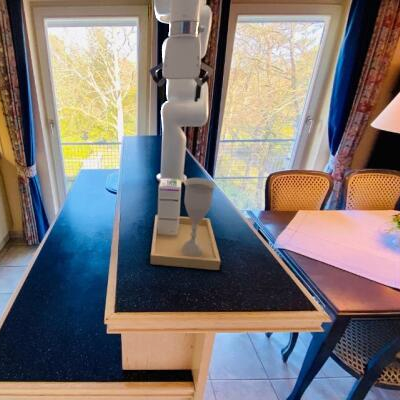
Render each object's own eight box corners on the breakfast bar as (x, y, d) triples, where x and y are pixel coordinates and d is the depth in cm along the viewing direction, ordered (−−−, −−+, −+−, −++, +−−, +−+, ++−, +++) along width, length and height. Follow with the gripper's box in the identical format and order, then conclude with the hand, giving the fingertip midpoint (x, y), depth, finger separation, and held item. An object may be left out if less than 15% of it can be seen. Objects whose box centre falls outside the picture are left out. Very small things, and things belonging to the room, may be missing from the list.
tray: (155, 222, 80) (155, 214, 79) (208, 226, 78) (209, 218, 76) (150, 264, 62) (150, 255, 61) (218, 270, 60) (220, 261, 59)
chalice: (172, 245, 68) (177, 180, 60) (194, 240, 70) (202, 176, 62) (188, 262, 62) (196, 192, 54) (212, 255, 64) (223, 187, 56)
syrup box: (178, 236, 72) (182, 187, 65) (156, 234, 73) (158, 185, 66) (178, 225, 77) (182, 179, 70) (158, 223, 78) (160, 177, 71)
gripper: (215, 32, 71) (207, 100, 79) (151, 34, 74) (149, 100, 81) (220, 28, 65) (211, 102, 72) (149, 30, 67) (147, 102, 74)
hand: (178, 101), depth 76 cm, fingers open, 9 cm apart
